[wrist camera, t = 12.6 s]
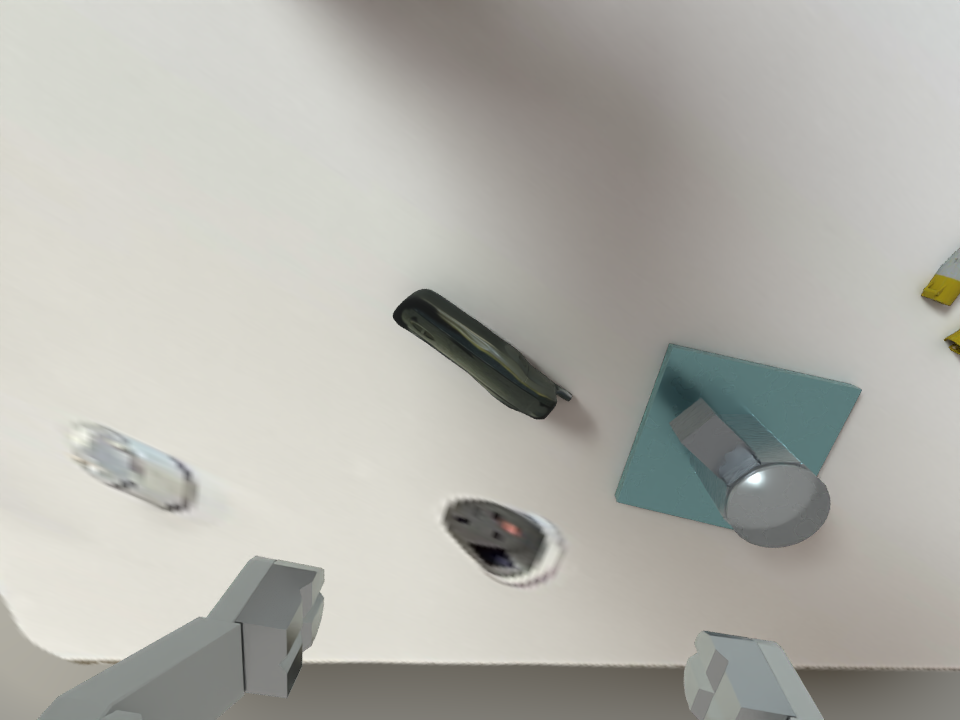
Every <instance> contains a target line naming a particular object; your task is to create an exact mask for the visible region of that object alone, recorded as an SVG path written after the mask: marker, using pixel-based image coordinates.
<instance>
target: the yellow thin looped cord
mask: <svg viewBox="0 0 960 720" xmlns="http://www.w3.org/2000/svg"><path fill="white" fill-rule="evenodd" d="M959 294H960V248H959V249H958V250H957V251H956V252H955V253H954V254H953V255H952V256H951V257H950V258H949V259H948V260H947V261H946V262H945V263H944V264H943V265H942V266H941V267H940V268H939V270H938V271H937V273H936V274H935V276H934V277H933V278H932V280H931V281H930V283H929V284H928V286H927V287H926V288H924V290H923V293H922V294H921V296H924V297H926V298H930V299H933V300H934V301H936V302H939V303H942V304H945V305H949V306H950V305H951V304H952V303H953V302H954V300H955V299H956V298H957V296H958V295H959ZM947 339H949V340H951V341H953V342H955V343H954V344H953V345H951V346H949V348H950V350H951V351H954V352H955V353H957V354H959V355H960V330H958V331H957V332H955V333H953V334H952V335H950V336H948V337H947V338H945V339H944V341H946V340H947Z"/></svg>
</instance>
